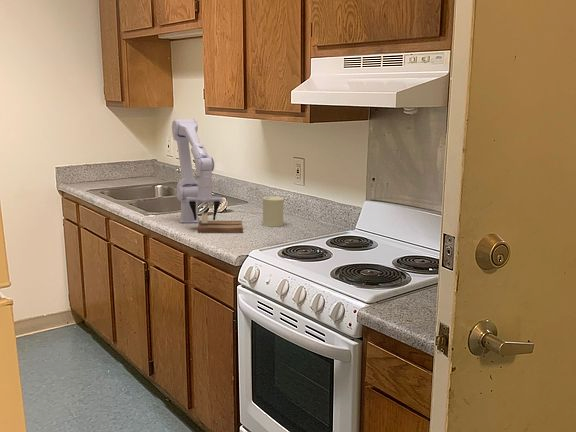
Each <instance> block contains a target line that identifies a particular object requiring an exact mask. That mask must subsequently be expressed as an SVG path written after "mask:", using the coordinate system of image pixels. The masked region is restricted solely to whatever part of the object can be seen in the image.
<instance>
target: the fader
mask: <svg viewBox="0 0 576 432" xmlns="http://www.w3.org/2000/svg"><path fill="white" fill-rule="evenodd" d="M208 217H209V213H208V212H201V221H202V225H208V221H209V218H208Z"/></svg>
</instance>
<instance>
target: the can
mask: <svg viewBox="0 0 576 432" xmlns="http://www.w3.org/2000/svg"><path fill="white" fill-rule="evenodd" d="M284 200H285V198H284V197H281V196H264V197H262V224H261V225H263V226H264V227H269V228H270V227H271V228H274V227H276V228H279V227H282V226H284V205H285V204H284Z"/></svg>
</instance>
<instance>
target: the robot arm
mask: <svg viewBox="0 0 576 432" xmlns="http://www.w3.org/2000/svg"><path fill="white" fill-rule="evenodd" d="M198 126H199V125H198V121H197V120H196V119H195V118H191V119H184V118H183V119H178V118H174V119H173V121H172V125H171V130H172V137H173V140H174V141H176V145H177V149H178V150H177V151H178V158H179V164H180V165H179V166H180V173H181V179H180V180H179V181H178V182H177V184H176V197H177V200H178V201H179V202H180V219H179V224H181V223H182V224H184V223H185V224H186V223H187V224H192V223H197V224H199V221H200V217H198V216H199V211H198V210H199V206H198V204H199V203H213V217H212V218H213V219H212V221H216V216H217V212H218V209H219V207H220V205H221V204H222V203H223V197H219V196H213V195H212V193H213V192H212V189H213V188H212V187H213V185H212V184H213V183H212V182H213V181H212V180H213V179H212V177H213V171H214V170H215V160H214V158H213V157H212V156H211V155H209V154H208V151H207V149H206V147H205V145H204V144H203V143H200V140H199V139H200V138H199V136H198V133H197V132H198V128H199V127H198ZM190 146H191V148H190ZM191 154H192V157H193V159H194V161H195V162H194V168H195V172H196V173H195V174H196V176H197V179H196V178H195V177H194V172H193V171H194V170H193V164H192V157H191Z"/></svg>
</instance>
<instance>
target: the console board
mask: <svg viewBox="0 0 576 432" xmlns="http://www.w3.org/2000/svg"><path fill="white" fill-rule="evenodd" d="M243 225H244V224H243V221H242V220H208V225H202V220H199V222H198V226H197V233H198V234H243V232H244V227H243Z"/></svg>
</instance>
